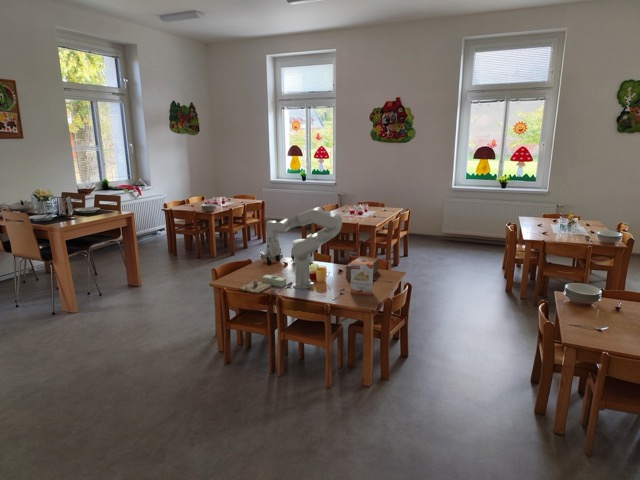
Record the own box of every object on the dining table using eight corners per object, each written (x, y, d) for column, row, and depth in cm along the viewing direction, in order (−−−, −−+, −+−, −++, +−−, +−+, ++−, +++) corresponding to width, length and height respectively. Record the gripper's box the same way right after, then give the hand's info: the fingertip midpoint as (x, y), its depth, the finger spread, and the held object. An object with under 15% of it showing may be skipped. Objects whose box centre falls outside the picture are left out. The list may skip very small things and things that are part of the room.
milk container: (296, 259, 346) (296, 237, 342) (316, 261, 341) (316, 239, 337) (288, 265, 331) (288, 243, 326) (309, 267, 325) (309, 245, 321)
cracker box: (350, 294, 273) (350, 263, 268) (351, 290, 279) (351, 260, 274) (372, 295, 271) (373, 264, 266) (372, 292, 277) (373, 261, 272)
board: (272, 286, 286) (272, 278, 285) (258, 294, 272) (257, 286, 271) (253, 282, 294) (253, 274, 292) (238, 289, 280) (238, 281, 279)
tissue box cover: (359, 268, 324) (360, 256, 321) (377, 271, 318) (378, 259, 315) (345, 278, 302) (346, 265, 299) (364, 282, 295) (365, 268, 293)
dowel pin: (247, 288, 279) (247, 284, 278) (246, 289, 278) (246, 284, 277) (246, 288, 279) (246, 283, 278) (245, 288, 278) (244, 284, 277)
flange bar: (286, 284, 290) (286, 278, 289) (281, 287, 285) (281, 280, 284) (267, 280, 297) (267, 274, 296) (262, 282, 293) (262, 276, 292)
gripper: (269, 242, 275) (270, 267, 279) (284, 236, 289) (285, 260, 293) (260, 241, 278) (261, 266, 283) (275, 235, 293) (276, 259, 297)
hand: (273, 263), depth 288 cm, fingers open, 9 cm apart
